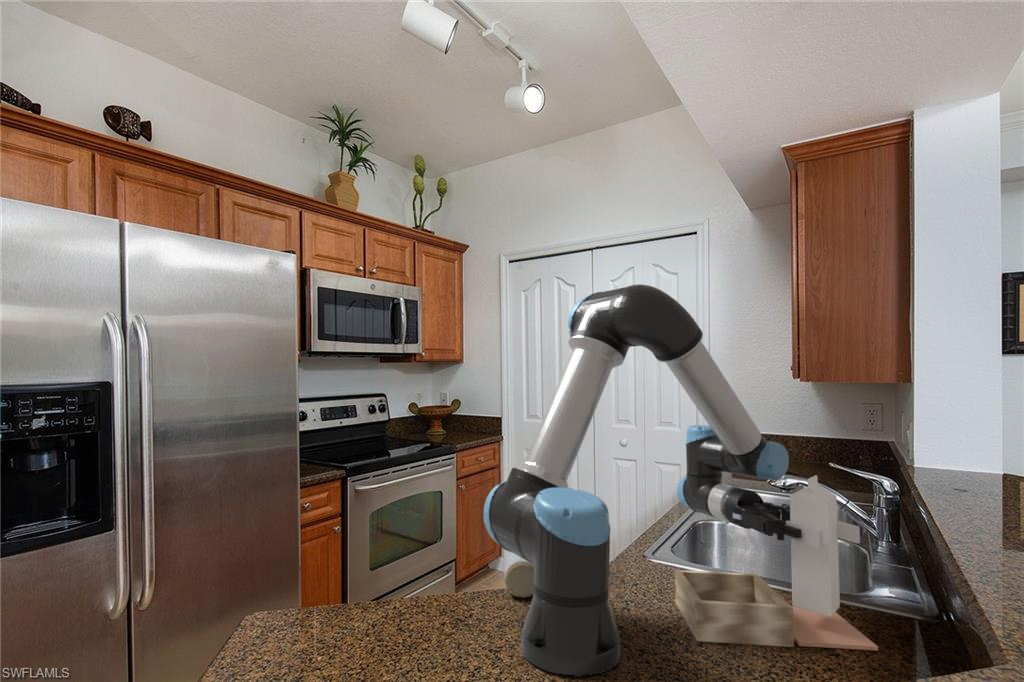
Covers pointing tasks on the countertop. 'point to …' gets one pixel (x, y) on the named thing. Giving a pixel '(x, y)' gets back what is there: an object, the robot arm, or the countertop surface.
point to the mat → (827, 631)
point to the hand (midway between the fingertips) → (839, 537)
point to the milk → (815, 551)
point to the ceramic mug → (519, 576)
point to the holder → (733, 608)
